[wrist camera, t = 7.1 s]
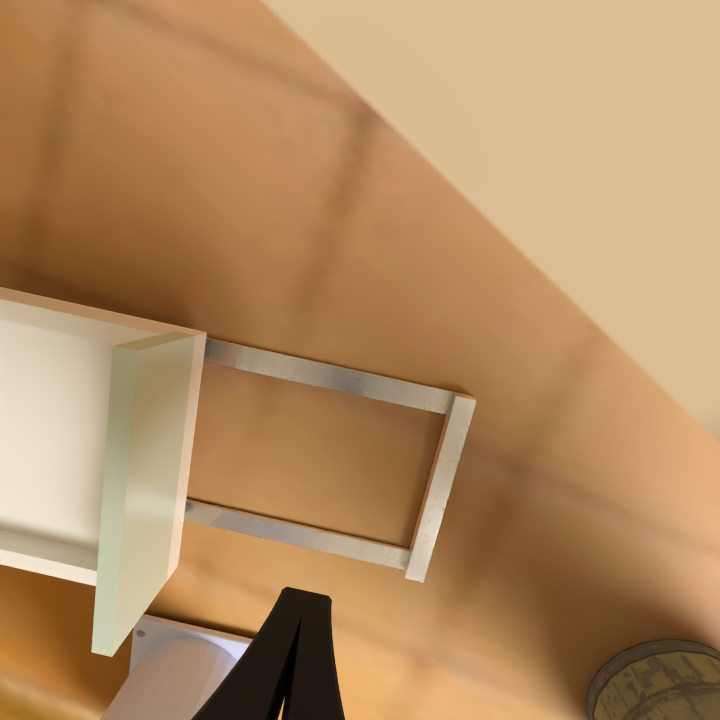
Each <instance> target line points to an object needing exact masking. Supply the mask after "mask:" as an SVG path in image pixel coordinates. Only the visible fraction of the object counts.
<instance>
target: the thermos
mask: <svg viewBox="0 0 720 720" xmlns="http://www.w3.org/2000/svg"><path fill="white" fill-rule="evenodd" d="M586 703H587V709H588V716H589V720H720V652H718V651H717V650H714V649H712V648H709V647H707V646H704V645H702V644H699V643H697V642H692V641H683V640H674V639H667V640H660V641H653V642H646V643H642V644H640V645H637V646H635V647H633V648H630V649H628V650H625V651H623V652H621V653H619V654H618V655H617V656H615V657H614V658H613V659H611V660H610V661H609V662H608V663H606V664H605V665H604V666H603V667H602V668H601V669H600V671H599V672H598V674H597V675H596V677H595V678H594V679H593V681H592V682H591V685H590V689H589V693H588V697H587V700H586Z"/></svg>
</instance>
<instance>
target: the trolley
mask: <svg viewBox="0 0 720 720" xmlns="http://www.w3.org/2000/svg"><path fill="white" fill-rule="evenodd" d="M206 335H207V332H204V331H199V330H195V329H190V328H185V327H181V326H176V325H172V324H167V323H163V322H158V321H154V320H149V319H144V318H140V317H135V316H131V315H126V314H122V313H117V312H113V311H108V310H103V309H99V308H94V307H90V306H85V305H81V304H76V303H72V302H67V301H62V300H58V299H53V298H49V297H44V296H40V295H35V294H31V293H26V292H21V291H17V290H12V289H8V288H3V287H0V564H1V565H6V566H10V567H14V568H19V569H23V570H27V571H32V572H36V573H41V574H45V575H49V576H54V577H58V578H62V579H67V580H71V581H76V582H80V583H84V584H89V585H93V586H96V594H95V608H94V622H93V637H92V651H91V652H92V653H96V654H101V655H105V656H109V657H112V656H113V655H114V654H115V652H116V651H117V649H118V648H119V647H120V645H121V644H122V642H123V641H124V640H125V638H126V637H127V636H128V634H129V633H130V631H131V630H132V629H133V627H134V626H135V624H136V623H137V622H138V620H139V619H140V618H141V616H142V615H143V613H144V612H145V611H146V609H147V608H148V606H149V605H150V604H151V602H152V601H153V600H154V598H155V597H156V595H157V594H158V593H159V591H160V590H161V589H162V587H163V586H164V584H165V583H166V582H167V580H168V579H169V577H170V576H171V575H172V573H173V572H174V571H175V569H176V568H177V566H178V561H179V553H180V545H181V537H182V529H183V520H184V512H185V504H186V496H187V488H188V480H189V472H190V464H191V456H192V448H193V440H194V432H195V424H196V416H197V408H198V400H199V392H200V383H201V375H202V367H203V359H204V351H205V343H206Z"/></svg>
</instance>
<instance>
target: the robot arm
mask: <svg viewBox="0 0 720 720" xmlns="http://www.w3.org/2000/svg"><path fill="white" fill-rule="evenodd" d="M331 604H332V600H331V598H330V597H329V596H326V595H322V594H317V593H313V592H308V591H304V590H300V589H295V588H291V587H286V588H284V589H282V591H281V594H280V596H279V598H278V600H277V602H276V604H275V605H274V607H273V609H272V611H271V612H270V614H269V616H268V617H267V619H266V621H265V622H264V624H263V625H262V627H261V629H260V630H259V632H258V633H257V635H256V636H255V637H254V639H251V638H246V637H242V636H238V635H233V634H229V633H225V632H220V631H216V630H212V629H207V628H203V627H198V626H194V625H190V624H185V623H181V622H177V621H172V620H168V619H164V618H159V617H155V616H150V615H145V614H143V615H142V616H141V618H140V619H139V620H138V622H137V623H136V624H135V626H134V627H133V637H132V647H131V657H130V668H129V676H128V678H127V679H126V681H125V682H124V684H123V685H122V687H121V689H120V690H119V692H118V693H117V695H116V696H115V698H114V699H113V701H112V702H111V704H110V706H109V707H108V709H107V710H106V712H105V713H104V715H103V716H102V718H101V720H278V717H279V714H280V710H281V707H282V704H283V700H284V697H285V700H284V706H283V713H282V719H281V720H345V717H344V712H343V707H342V702H341V697H340V691H339V685H338V678H337V672H336V665H335V658H334V649H333V639H332V625H331Z"/></svg>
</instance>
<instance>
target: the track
mask: <svg viewBox="0 0 720 720" xmlns="http://www.w3.org/2000/svg"><path fill="white" fill-rule="evenodd" d="M203 361H205V362H209V363H214V364H218V365H223V366H227V367H232V368H236V369H241V370H245V371H250V372H254V373H259V374H264V375H268V376H273V377H277V378H282V379H286V380H291V381H295V382H300V383H304V384H309V385H313V386H318V387H322V388H327V389H332V390H336V391H341V392H345V393H350V394H354V395H359V396H363V397H368V398H372V399H377V400H381V401H386V402H391V403H395V404H400V405H404V406H409V407H413V408H418V409H422V410H427V411H431V412H436V413H440V414H445V415H446V418H445V421H444V425H443V429H442V432H441V436H440V439H439V443H438V447H437V450H436V454H435V458H434V461H433V465H432V468H431V472H430V476H429V479H428V483H427V487H426V490H425V494H424V497H423V501H422V505H421V508H420V512H419V515H418V519H417V523H416V526H415V530H414V534H413V537H412V541H411V544H410V548H409V549H408V548H403V547H399V546H394V545H390V544H386V543H381V542H377V541H372V540H368V539H363V538H359V537H354V536H350V535H346V534H341V533H337V532H332V531H328V530H323V529H319V528H314V527H310V526H306V525H301V524H297V523H292V522H288V521H283V520H279V519H275V518H270V517H266V516H261V515H257V514H252V513H248V512H243V511H239V510H235V509H230V508H226V507H221V506H217V505H212V504H208V503H203V502H199V501H195V500H190V499H186V504H185V512H184V520H185V521H190V522H194V523H199V524H203V525H208V526H212V527H216V528H221V529H225V530H230V531H234V532H239V533H243V534H247V535H252V536H256V537H261V538H265V539H270V540H274V541H278V542H283V543H287V544H292V545H296V546H301V547H305V548H309V549H314V550H318V551H323V552H327V553H332V554H336V555H340V556H345V557H349V558H354V559H358V560H363V561H367V562H371V563H376V564H380V565H385V566H389V567H393V568H398V569H402V570H404V571H405V579H410V580H414V581H418V582H423V583H424V579H425V576H426V572H427V569H428V565H429V562H430V559H431V555H432V552H433V548H434V545H435V541H436V538H437V535H438V531H439V528H440V524H441V521H442V518H443V514H444V511H445V507H446V504H447V500H448V497H449V494H450V490H451V487H452V483H453V480H454V477H455V473H456V470H457V466H458V463H459V459H460V456H461V453H462V449H463V446H464V442H465V439H466V435H467V432H468V429H469V425H470V422H471V418H472V415H473V412H474V408H475V405H476V401H477V400H476V399H475V398H474V397H473V396H472V395H468V394H463V393H459V392H454V391H449V390H445V389H440V388H436V387H431V386H427V385H422V384H418V383H413V382H408V381H404V380H399V379H395V378H390V377H386V376H381V375H377V374H372V373H368V372H363V371H358V370H354V369H349V368H345V367H340V366H336V365H331V364H327V363H322V362H317V361H313V360H308V359H304V358H299V357H295V356H290V355H286V354H281V353H276V352H272V351H267V350H263V349H258V348H254V347H249V346H245V345H240V344H235V343H231V342H226V341H222V340H217V339H213V338H208V337H206V343H205V351H204V359H203Z"/></svg>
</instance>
